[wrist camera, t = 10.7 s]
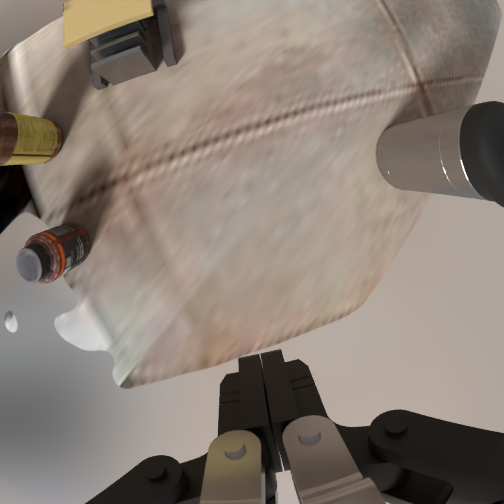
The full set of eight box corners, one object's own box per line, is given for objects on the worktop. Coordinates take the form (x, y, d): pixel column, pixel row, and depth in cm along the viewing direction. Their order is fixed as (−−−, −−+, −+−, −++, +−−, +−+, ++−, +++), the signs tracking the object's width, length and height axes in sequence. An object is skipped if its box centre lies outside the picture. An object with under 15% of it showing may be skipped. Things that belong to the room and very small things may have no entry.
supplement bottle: (52, 228, 37) (3, 245, 26) (84, 217, 37) (38, 231, 26) (63, 268, 38) (19, 295, 27) (96, 259, 38) (55, 286, 27)
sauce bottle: (51, 112, 33) (-46, 85, 14) (72, 140, 34) (-30, 123, 15) (24, 146, 33) (-75, 140, 14) (43, 175, 35) (-60, 181, 15)
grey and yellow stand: (167, 7, 31) (151, -32, 21) (176, 64, 33) (160, 31, 23) (93, 32, 30) (63, 3, 21) (98, 90, 33) (63, 68, 23)
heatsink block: (148, 19, 31) (133, -7, 24) (156, 71, 33) (140, 49, 26) (108, 34, 31) (87, 11, 24) (113, 85, 33) (91, 68, 26)
